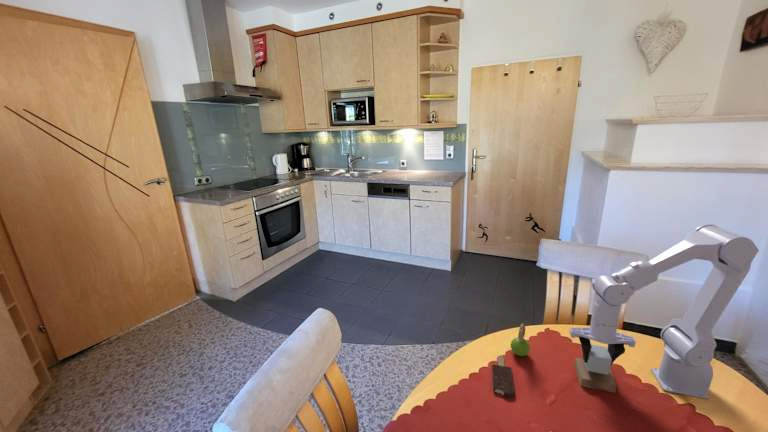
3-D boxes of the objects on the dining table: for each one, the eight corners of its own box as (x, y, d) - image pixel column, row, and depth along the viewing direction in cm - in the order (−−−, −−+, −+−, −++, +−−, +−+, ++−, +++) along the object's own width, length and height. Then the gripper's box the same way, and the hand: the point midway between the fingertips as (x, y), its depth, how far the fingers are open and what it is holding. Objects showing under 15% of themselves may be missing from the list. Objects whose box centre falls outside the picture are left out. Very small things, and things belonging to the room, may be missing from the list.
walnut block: (605, 371, 92) (607, 363, 91) (614, 393, 85) (616, 385, 84) (574, 365, 94) (575, 357, 93) (580, 386, 87) (581, 378, 86)
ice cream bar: (491, 356, 99) (493, 396, 85) (491, 352, 99) (494, 391, 85) (509, 359, 98) (514, 400, 84) (509, 355, 97) (515, 395, 84)
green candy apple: (508, 359, 97) (511, 325, 94) (511, 345, 103) (514, 313, 99) (527, 364, 95) (531, 330, 91) (529, 350, 100) (533, 318, 97)
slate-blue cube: (603, 361, 90) (606, 346, 88) (608, 374, 85) (611, 359, 84) (582, 358, 91) (585, 343, 90) (587, 370, 87) (590, 355, 85)
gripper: (631, 315, 85) (622, 357, 89) (570, 307, 90) (564, 347, 94) (642, 331, 79) (632, 376, 83) (575, 322, 83) (568, 364, 87)
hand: (596, 362), depth 88 cm, fingers closed on slate-blue cube, 5 cm apart
